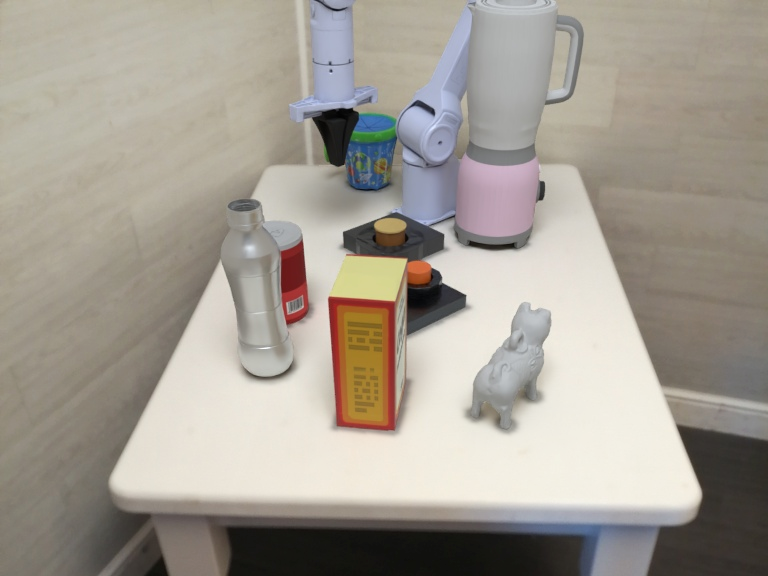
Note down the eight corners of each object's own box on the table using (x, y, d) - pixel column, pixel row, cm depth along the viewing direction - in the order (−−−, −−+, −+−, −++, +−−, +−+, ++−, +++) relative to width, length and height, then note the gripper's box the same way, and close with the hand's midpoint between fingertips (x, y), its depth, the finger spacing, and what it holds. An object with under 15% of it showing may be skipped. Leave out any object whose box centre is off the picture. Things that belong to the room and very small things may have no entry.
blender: (454, 252, 110) (470, -1, 88) (451, 218, 119) (464, -20, 96) (557, 252, 110) (600, -2, 87) (547, 218, 118) (583, -21, 96)
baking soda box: (352, 377, 87) (346, 250, 76) (405, 381, 87) (407, 254, 75) (337, 426, 81) (327, 295, 69) (394, 431, 80) (394, 299, 69)
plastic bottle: (287, 386, 86) (265, 220, 72) (233, 380, 87) (201, 215, 73) (302, 356, 91) (284, 195, 76) (250, 351, 92) (224, 190, 77)
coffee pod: (391, 243, 113) (391, 215, 109) (412, 254, 110) (413, 225, 107) (368, 253, 110) (367, 224, 107) (388, 264, 108) (388, 234, 105)
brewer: (416, 281, 104) (416, 258, 101) (465, 307, 99) (467, 284, 96) (357, 307, 99) (356, 283, 96) (406, 336, 94) (406, 312, 91)
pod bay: (396, 226, 117) (396, 211, 115) (446, 251, 111) (447, 235, 109) (337, 249, 111) (336, 233, 110) (387, 276, 105) (387, 260, 103)
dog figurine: (552, 380, 87) (568, 298, 79) (506, 437, 79) (518, 353, 71) (512, 366, 89) (523, 286, 81) (463, 421, 81) (470, 338, 73)
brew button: (418, 270, 100) (418, 258, 99) (436, 279, 98) (436, 267, 97) (398, 278, 98) (399, 266, 97) (416, 288, 96) (417, 275, 95)
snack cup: (418, 176, 132) (420, 115, 124) (403, 199, 125) (404, 136, 117) (337, 168, 135) (334, 108, 128) (318, 190, 128) (314, 128, 120)
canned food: (313, 298, 101) (307, 220, 93) (303, 328, 95) (295, 248, 87) (260, 296, 101) (248, 218, 94) (246, 326, 96) (233, 246, 88)
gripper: (308, 75, 93) (314, 183, 103) (392, 57, 100) (390, 160, 110) (276, 64, 97) (285, 169, 107) (359, 47, 104) (361, 147, 113)
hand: (337, 164), depth 108 cm, fingers closed
